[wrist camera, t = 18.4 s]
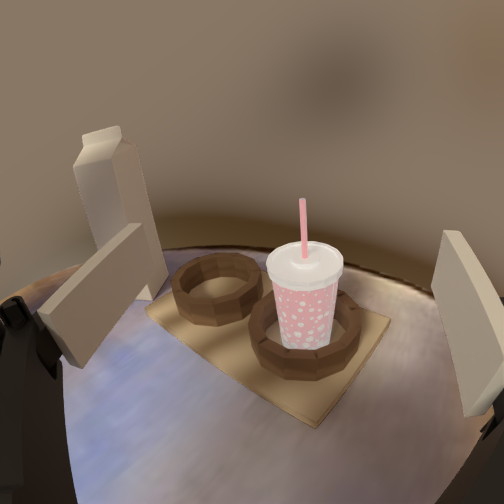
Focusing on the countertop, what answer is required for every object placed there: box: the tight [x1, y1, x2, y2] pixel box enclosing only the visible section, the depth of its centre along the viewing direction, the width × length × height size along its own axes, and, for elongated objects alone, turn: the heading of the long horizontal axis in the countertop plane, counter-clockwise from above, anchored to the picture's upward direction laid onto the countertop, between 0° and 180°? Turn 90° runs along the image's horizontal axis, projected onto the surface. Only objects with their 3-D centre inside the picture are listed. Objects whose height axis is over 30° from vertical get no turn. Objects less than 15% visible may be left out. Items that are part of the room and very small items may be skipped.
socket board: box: [145, 253, 390, 429], centre depth 32 cm, size 24×14×4 cm, turn 48°
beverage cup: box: [266, 198, 343, 350], centre depth 25 cm, size 6×6×14 cm
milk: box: [73, 125, 169, 301], centre depth 36 cm, size 6×6×22 cm
